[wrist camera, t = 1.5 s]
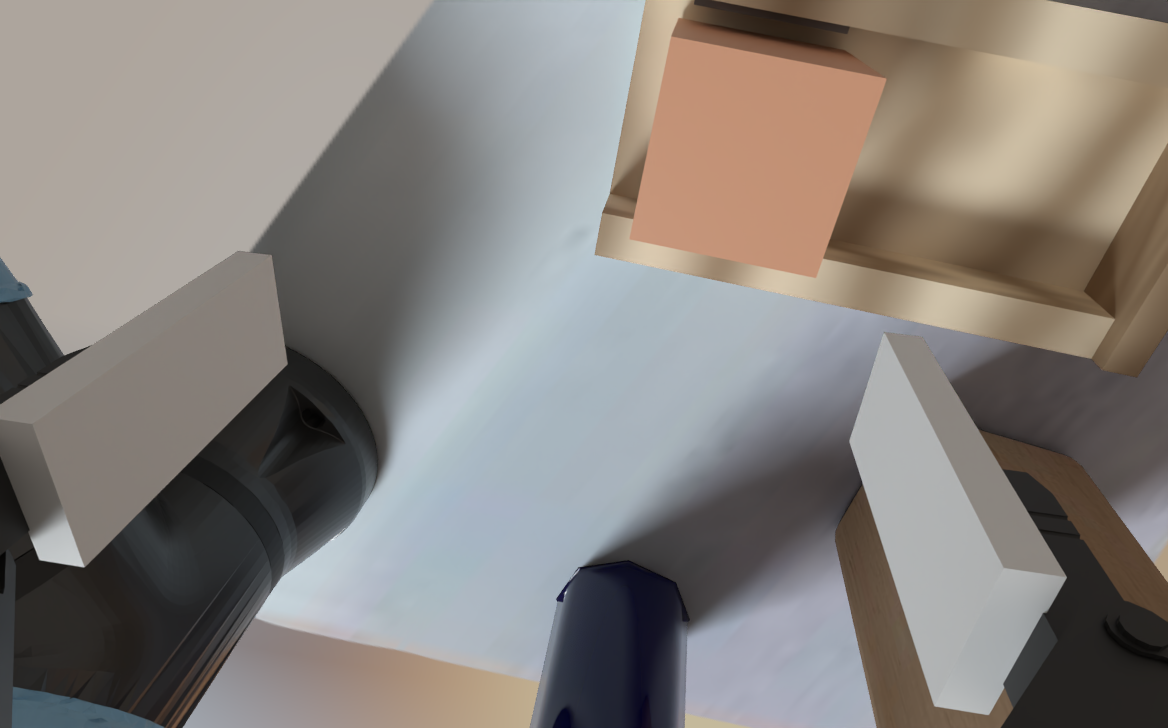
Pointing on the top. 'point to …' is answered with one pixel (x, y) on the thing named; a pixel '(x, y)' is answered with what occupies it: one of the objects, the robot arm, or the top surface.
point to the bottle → (615, 652)
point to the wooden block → (880, 619)
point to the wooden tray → (966, 169)
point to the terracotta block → (753, 146)
